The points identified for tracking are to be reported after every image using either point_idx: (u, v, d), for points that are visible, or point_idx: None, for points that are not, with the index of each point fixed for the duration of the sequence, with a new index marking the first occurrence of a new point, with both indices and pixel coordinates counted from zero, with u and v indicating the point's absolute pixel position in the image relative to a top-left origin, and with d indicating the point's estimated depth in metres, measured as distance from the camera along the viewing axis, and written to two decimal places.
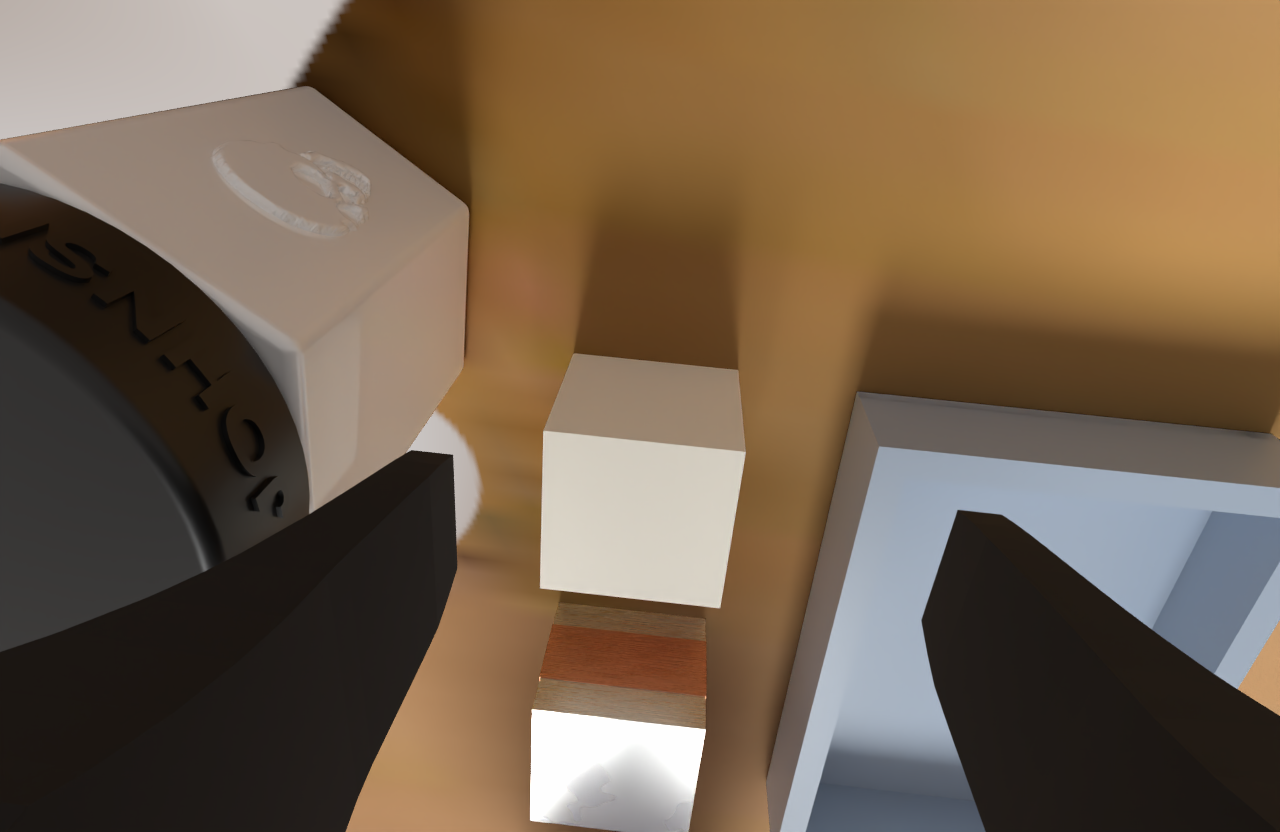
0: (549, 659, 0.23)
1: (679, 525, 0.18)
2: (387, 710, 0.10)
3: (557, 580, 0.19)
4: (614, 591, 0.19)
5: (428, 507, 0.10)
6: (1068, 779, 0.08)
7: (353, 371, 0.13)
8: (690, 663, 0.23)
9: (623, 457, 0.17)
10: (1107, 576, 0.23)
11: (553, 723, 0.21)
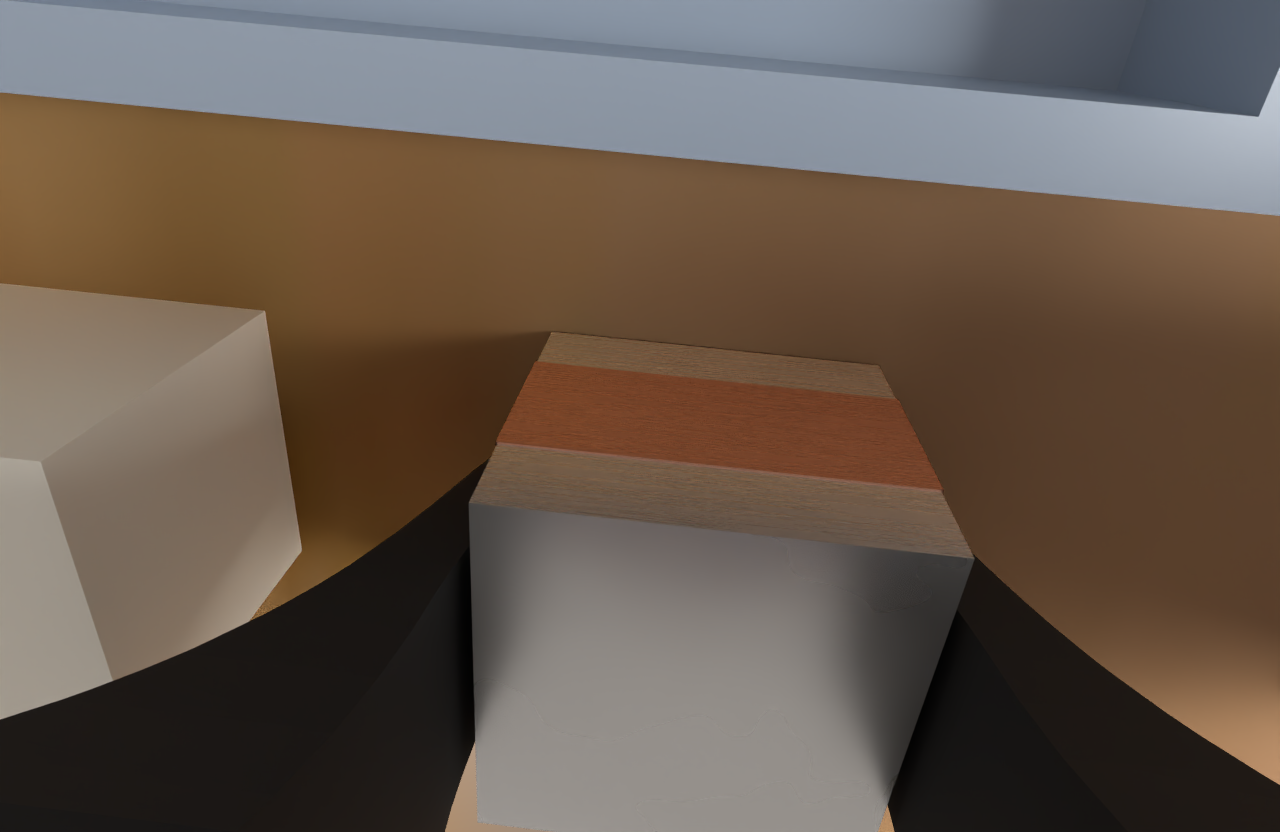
0: None
1: None
2: None
3: None
4: (92, 655, 0.09)
5: None
6: (955, 765, 0.08)
7: None
8: None
9: None
10: None
11: (514, 794, 0.09)
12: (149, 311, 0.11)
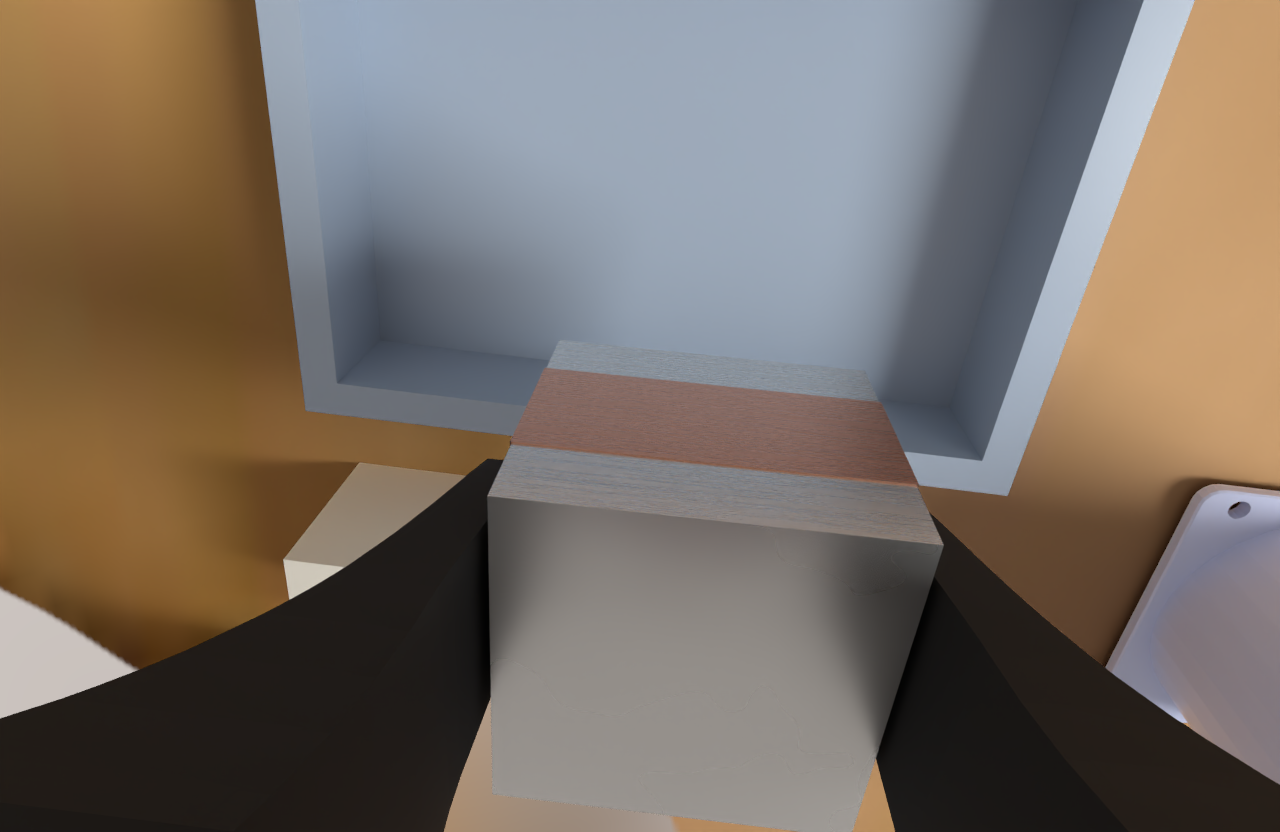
0: None
1: None
2: (474, 720, 0.09)
3: None
4: None
5: None
6: (956, 766, 0.08)
7: None
8: None
9: None
10: (552, 30, 0.16)
11: (526, 767, 0.10)
12: None
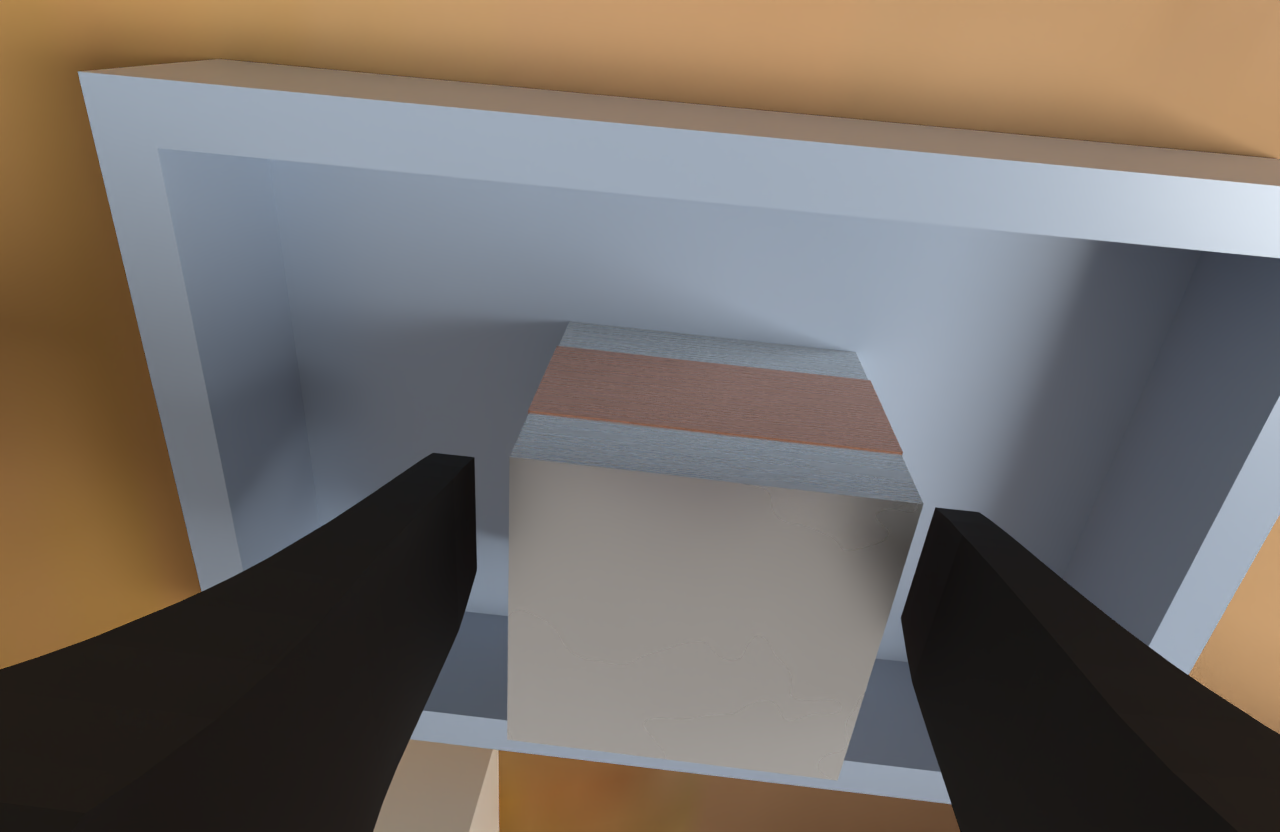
0: None
1: None
2: (411, 713, 0.09)
3: None
4: None
5: (451, 510, 0.10)
6: (1037, 775, 0.08)
7: None
8: None
9: None
10: (528, 271, 0.13)
11: (539, 714, 0.11)
12: None
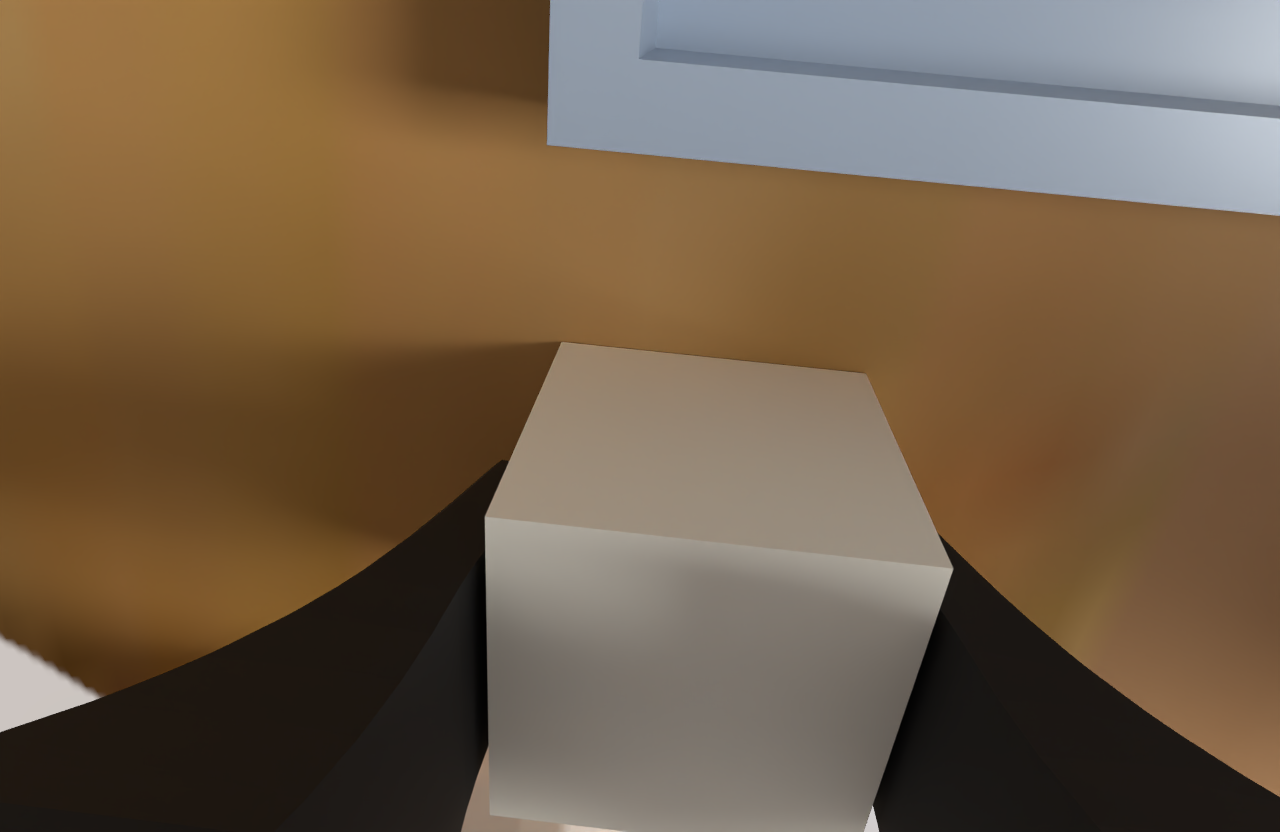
0: None
1: (693, 638, 0.08)
2: None
3: None
4: (874, 754, 0.09)
5: None
6: (936, 763, 0.08)
7: None
8: None
9: (528, 716, 0.09)
10: None
11: None
12: (768, 378, 0.11)
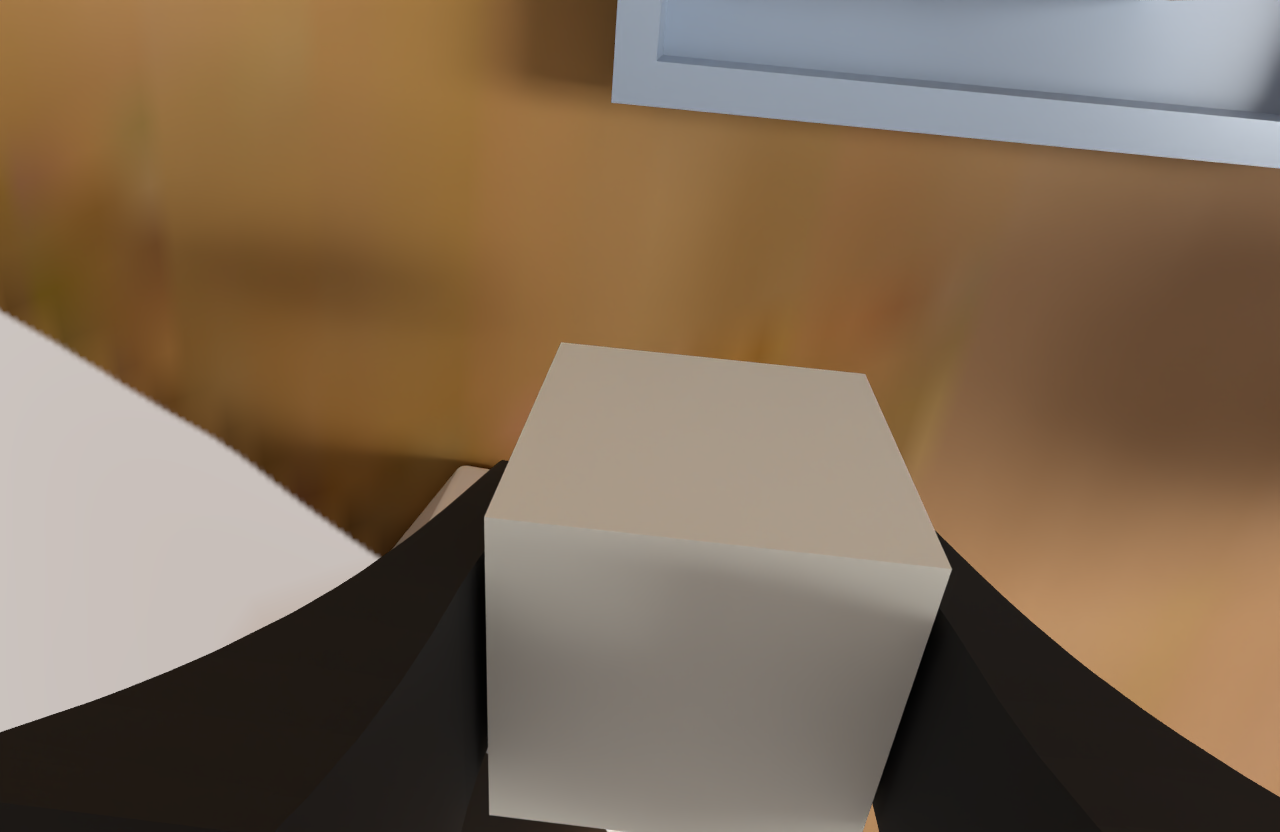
0: None
1: (692, 638, 0.08)
2: None
3: None
4: (873, 754, 0.09)
5: None
6: (936, 763, 0.08)
7: None
8: None
9: (527, 716, 0.09)
10: None
11: None
12: (766, 379, 0.11)
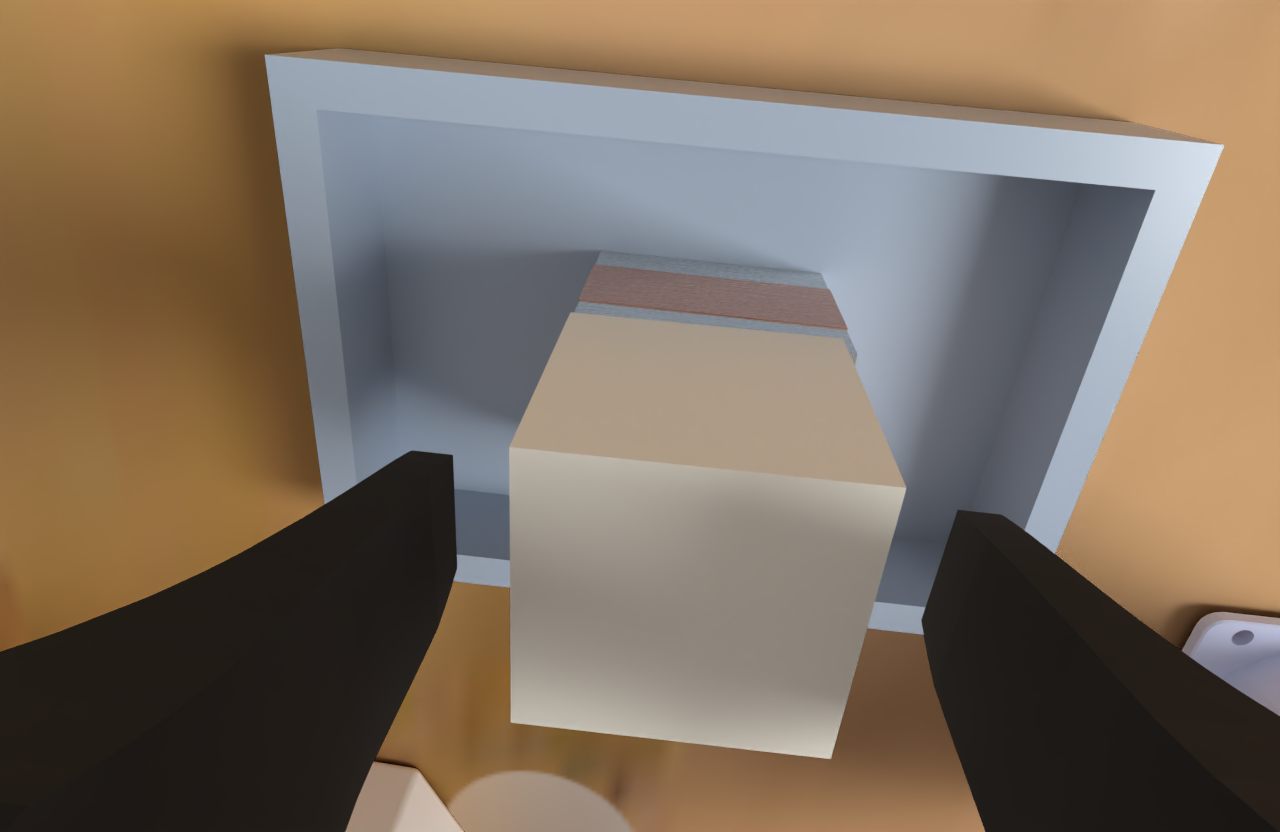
0: None
1: (687, 555, 0.09)
2: (387, 710, 0.10)
3: (813, 735, 0.11)
4: (845, 659, 0.10)
5: (428, 507, 0.10)
6: (1068, 779, 0.08)
7: None
8: None
9: (545, 628, 0.10)
10: (569, 211, 0.16)
11: None
12: (755, 342, 0.12)
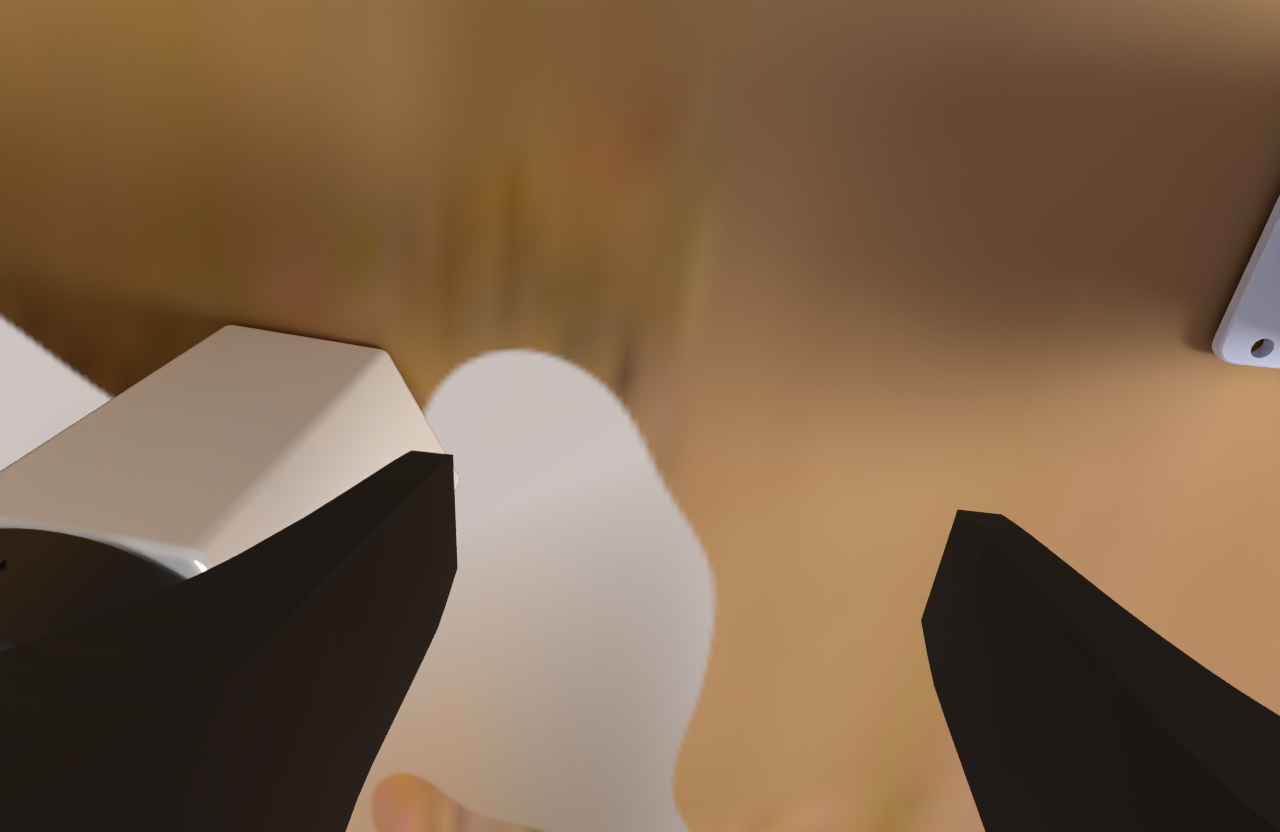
0: None
1: None
2: (387, 710, 0.10)
3: None
4: None
5: (428, 507, 0.10)
6: (1068, 779, 0.08)
7: (80, 466, 0.15)
8: None
9: None
10: None
11: None
12: None
